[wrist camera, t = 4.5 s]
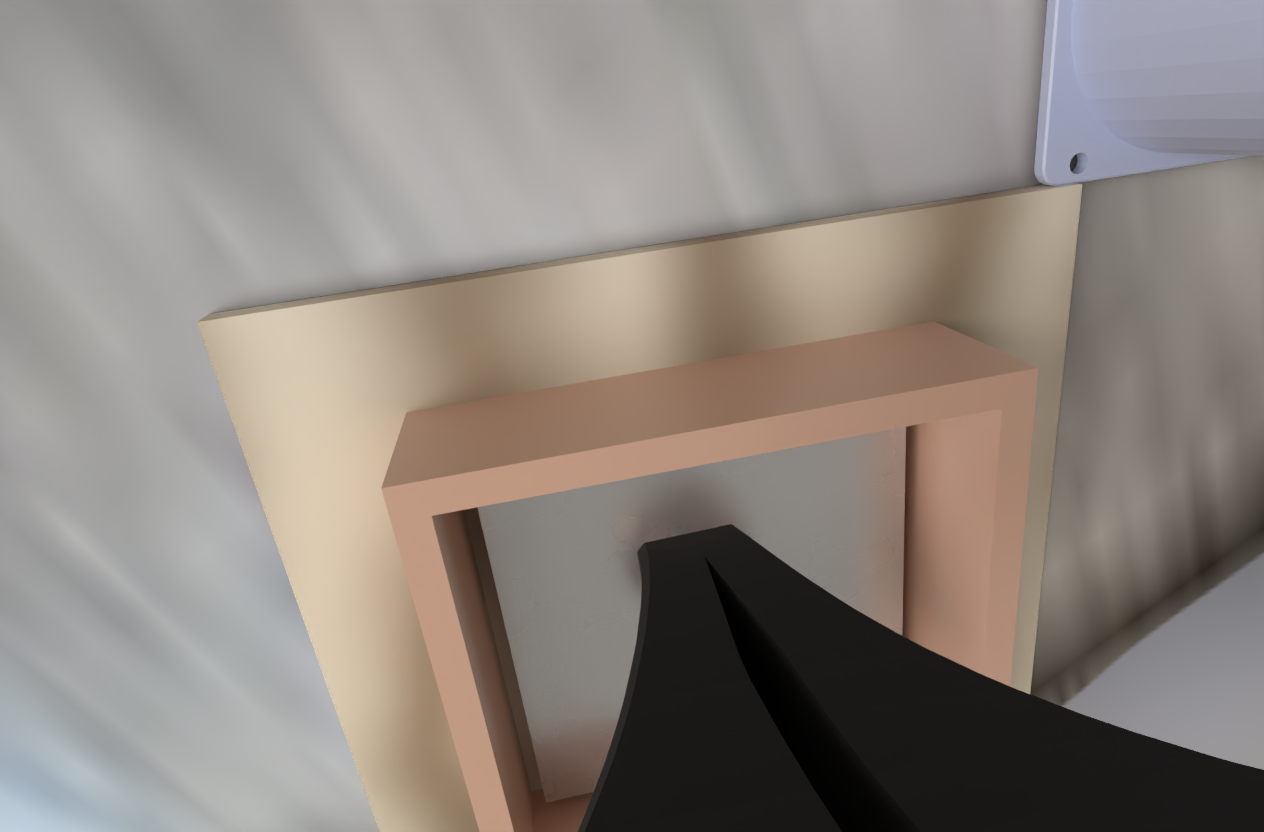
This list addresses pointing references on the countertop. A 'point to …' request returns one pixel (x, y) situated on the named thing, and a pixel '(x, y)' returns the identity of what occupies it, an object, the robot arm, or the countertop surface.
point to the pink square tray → (702, 434)
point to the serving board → (578, 352)
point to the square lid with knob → (661, 508)
